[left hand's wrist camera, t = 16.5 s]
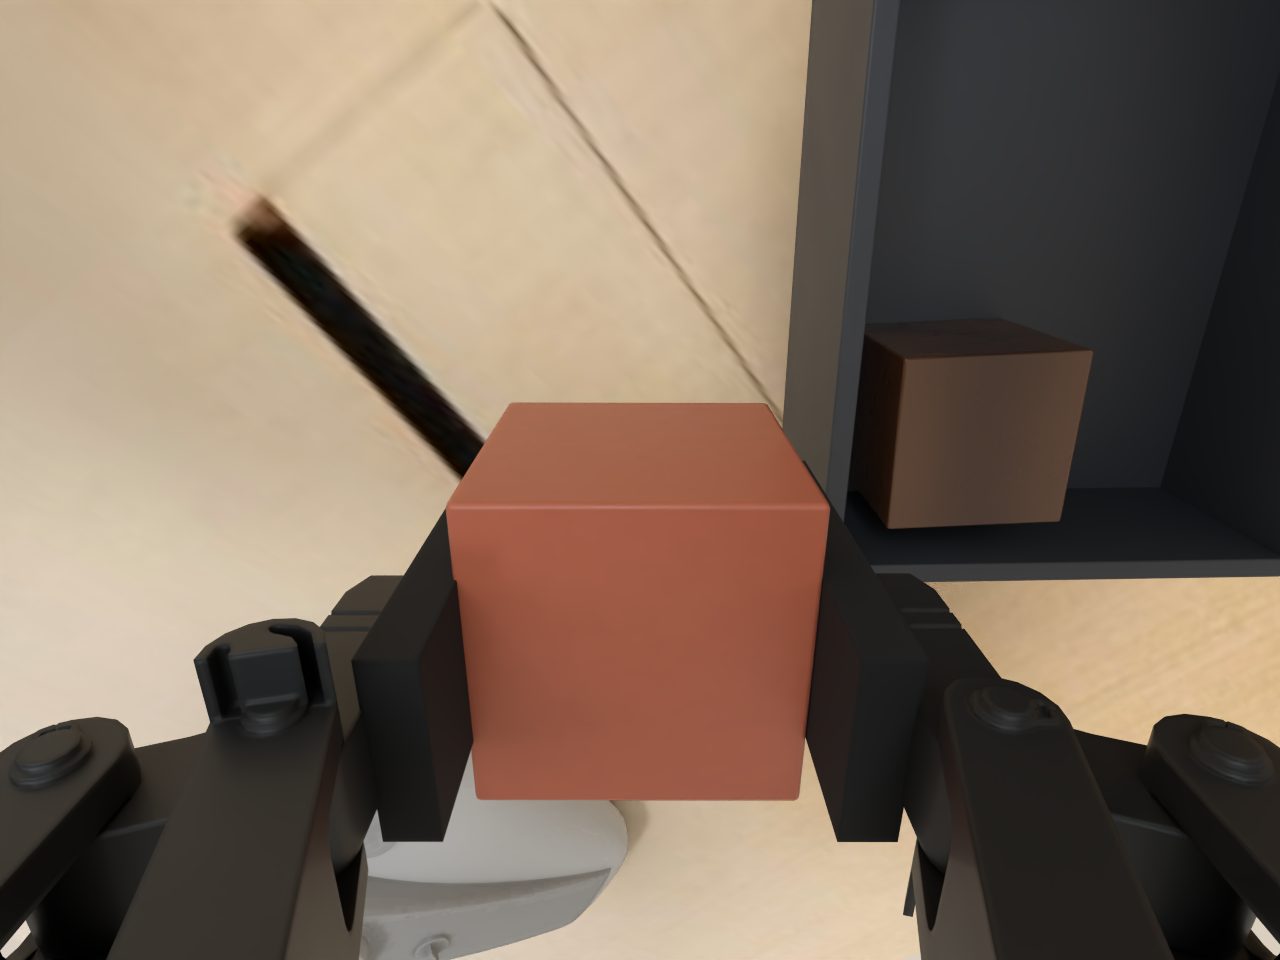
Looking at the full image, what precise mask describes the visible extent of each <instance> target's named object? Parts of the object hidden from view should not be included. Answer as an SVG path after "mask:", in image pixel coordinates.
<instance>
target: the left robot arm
mask: <svg viewBox="0 0 1280 960" xmlns="http://www.w3.org/2000/svg"><path fill="white" fill-rule="evenodd" d="M802 462H803V463H804V465H805V467H806V468H807V470H808V471H809V473H810V475H811V476H812V478H813V479H814V481H815V483H816V484H817V486H818V487H819V489H820V491H821V492H822V494H823V495H824V497H825V499H826V500H827V502H828V504H829V506H830V515H829V524H828V533H827V543H826V552H825V561H824V570H823V578H822V587H821V597H820V606H819V615H818V625H817V634H816V643H815V653H814V662H813V671H812V681H811V690H810V699H809V709H808V718H807V727H806V736H805V737H806V740H807V744H808V747H809V750H810V753H811V757H812V760H813V763H814V767H815V770H816V773H817V776H818V780H819V783H820V786H821V790H822V793H823V796H824V799H825V803H826V806H827V809H828V812H829V816H830V819H831V822H832V826H833V829H834V832H835V835H836V839H837V842H898V837H899V831H900V825H901V820H902V814H903V808H905V810H906V813H907V815H908V817H909V820H910V822H911V824H912V827H913V829H914V831H915V834H916V836H917V840H916V846H915V851H914V856H913V862H912V867H911V872H910V877H909V883H908V888H907V893H906V899H905V905H904V912H903V915H906V916H911V917H913V913H914V908H915V905H916V915H917V924H918V933H919V942H920V952H921V960H1280V954H1279V955H1278V956H1275V955H1274V954H1273V953H1272V952H1271V951H1269V950H1268V949H1267V948H1266V947H1265V946H1264V945H1263V944H1262V942H1261V941H1260V940H1259V939H1258V937H1257V936H1256V935H1255V934H1254V933H1253V931H1252V930H1251V928H1252V926H1253V923H1254V921H1255V919H1256V917H1257V918H1258V919H1259V920H1260V921H1261V922H1262V924H1263V925H1264V926H1265V927H1266V928H1267V930H1268V931H1269V932H1270V933H1271V934H1272V935H1273V937H1274V938H1275V939H1276V940H1277V941H1278V943H1279V944H1280V748H1279V747H1278V746H1276V745H1275V744H1274V743H1272V742H1271V741H1269V740H1268V739H1266V738H1263V737H1261V736H1259V735H1257V734H1255V733H1253V732H1251V731H1249V730H1247V729H1245V728H1244V727H1242V726H1239V725H1236V724H1234V723H1231V722H1228V721H1227V722H1225V721H1224V720H1221V719H1216V718H1212V717H1206V716H1198V715H1190V714H1180V715H1173V716H1166V717H1164V718H1163V719H1161V720H1160V721H1159V722H1157V723H1156V724H1155V725H1154V727H1153V730H1152V733H1151V736H1150V739H1149V742H1148V745H1142V744H1137V743H1133V742H1128V741H1123V740H1118V739H1113V738H1109V737H1104V736H1099V735H1094V734H1090V733H1086V732H1083V731H1079V730H1075V729H1073V727H1072V725H1071V723H1070V721H1069V720H1068V718H1067V717H1066V715H1065V714H1064V713H1063V711H1062V710H1061V709H1060V707H1059V706H1058V705H1056V704H1055V703H1054V702H1052V701H1051V700H1050V699H1048V698H1047V697H1046V696H1044V695H1043V694H1041V693H1040V692H1038V691H1036V690H1033V689H1031V688H1029V687H1027V686H1025V685H1022V684H1020V683H1018V682H1014V681H1010V680H1006V679H1002V678H1001V677H1000V676H999V674H998V673H997V672H996V670H995V669H994V668H993V666H992V665H991V664H990V662H989V661H988V660H987V658H986V657H985V656H984V654H983V653H982V652H981V650H980V649H979V648H978V646H977V645H976V644H975V642H974V641H973V640H972V638H971V637H970V636H969V634H968V633H967V632H966V630H965V629H962V628H961V624H960V622H959V621H958V620H957V618H956V617H955V616H954V614H953V613H950V611H949V608H948V606H947V605H946V604H945V602H944V601H943V600H942V598H941V597H940V596H939V594H938V593H937V592H936V590H935V589H933V588H932V587H930V586H929V585H927V584H925V583H924V582H922V581H921V580H919V579H918V578H916V577H915V576H913V575H912V574H910V573H875V572H874V571H873V569H872V567H871V566H870V564H869V562H868V561H867V559H866V558H865V556H864V554H863V553H862V551H861V550H860V548H859V546H858V545H857V543H856V542H855V540H854V538H853V537H852V535H851V534H850V532H849V530H848V529H847V527H846V526H845V524H844V522H843V521H842V519H841V518H840V516H839V514H838V513H837V511H836V509H835V508H834V506H833V505H832V503H831V501H830V500H829V498H828V497H827V495H826V493H825V492H824V490H823V489H822V487H821V485H820V484H819V482H818V481H817V479H816V477H815V476H814V474H813V473H812V471H811V469H810V468H809V466H808V465H807V463H806V461H802ZM194 664H195V668H196V671H197V675H198V679H199V682H200V686H201V690H202V694H203V697H204V701H205V705H206V708H207V712H208V716H209V719H210V724H209V726H208V729H207V731H206V733H202V734H198V735H195V736H191V737H187V738H182V739H177V740H172V741H168V742H163V743H158V744H153V745H149V746H144V747H139V748H134V746H133V743H132V740H131V737H130V734H129V730H128V728H127V727H125V726H124V725H123V724H122V723H120V722H119V721H118V720H115V719H108V718H101V717H93V718H85V719H77V720H70V721H66V722H62V723H58V724H57V725H55V724H54V725H52V726H49V727H46V728H43V729H41V730H38V731H37V732H35V733H33V734H31V735H29V736H27V737H25V738H23V739H21V740H19V741H17V742H15V743H13V744H12V745H10V746H9V747H7V748H6V749H5V750H3V751H2V752H0V950H1V949H2V948H3V946H4V945H5V944H6V943H7V942H8V941H9V939H10V938H11V937H12V936H13V935H14V933H15V932H16V931H17V930H18V929H19V927H20V926H21V925H22V924H23V923H24V921H25V920H26V922H27V924H28V926H29V928H30V931H31V933H30V934H29V935H28V936H27V938H26V939H25V940H24V941H23V942H22V944H21V945H20V946H19V947H18V948H17V949H16V950H15V951H14V952H13V953H12V954H10V955H9V956H8V957H7V958H6V959H5V958H4V957H3V956H2V954H1V952H0V960H359V954H360V944H361V935H362V926H363V916H364V907H365V898H366V889H367V879H368V863H367V857H366V851H365V846H364V839H365V836H366V834H367V832H368V829H369V827H370V825H371V822H372V820H373V818H374V815H375V813H376V811H378V817H379V822H380V828H381V834H382V840H383V842H443V840H444V837H445V834H446V831H447V827H448V824H449V821H450V817H451V814H452V811H453V808H454V804H455V801H456V798H457V794H458V791H459V788H460V785H461V781H462V778H463V775H464V771H465V768H466V765H467V762H468V758H469V755H470V752H471V748H472V745H473V742H474V740H473V731H472V721H471V712H470V702H469V693H468V683H467V674H466V664H465V655H464V645H463V636H462V626H461V617H460V607H459V598H458V588H457V580H454V579H453V572H452V563H451V553H450V544H449V534H448V524H447V515H446V509H445V510H444V512H443V513H442V515H441V517H440V518H439V520H438V522H437V523H436V525H435V526H434V528H433V530H432V531H431V533H430V534H429V536H428V538H427V539H426V541H425V542H424V544H423V546H422V547H421V549H420V550H419V552H418V554H417V555H416V557H415V558H414V560H413V562H412V563H411V565H410V567H409V568H408V570H407V571H406V573H405V575H404V576H370V577H368V578H367V579H365V580H364V581H362V582H360V583H359V584H357V585H356V586H354V587H353V588H351V589H350V590H348V591H347V592H346V593H345V594H344V595H343V597H342V598H341V599H340V601H339V602H338V603H337V605H336V606H335V607H334V609H333V610H332V614H331V615H328V617H327V618H326V619H325V621H324V622H323V623H322V625H321V626H320V627H319V626H317V625H316V624H315V623H314V622H310V621H305V620H301V619H296V618H291V619H271V620H267V621H262V622H257V623H252V624H248V625H246V626H243V627H241V628H238V629H236V630H233V631H231V632H228V633H225V634H224V635H222V636H221V637H219V638H218V639H216V640H214V641H213V642H211V643H210V644H208V645H207V646H205V647H204V648H203V650H202V651H201V652H200V653H199V654H198V655H197V657H196V658H195V659H194Z"/></svg>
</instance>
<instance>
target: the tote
mask: <svg viewBox="0 0 1280 960" xmlns="http://www.w3.org/2000/svg"><path fill="white" fill-rule="evenodd" d="M994 318H1003V319H1005V320H1008V321H1011V322H1014V323H1017V324H1020V325H1023V326H1025V327H1028V328H1031V329H1034V330H1037V331H1040V332H1043V333H1045V334H1048V335H1051V336H1054V337H1057V338H1060V339H1063V340H1066V341H1068V342H1071V343H1074V344H1077V345H1080V346H1083V347H1086V348H1088V349H1091V350H1093V352H1094V354H1093V359H1092V364H1091V369H1090V374H1089V379H1088V384H1087V389H1086V394H1085V399H1084V404H1083V409H1082V414H1081V419H1080V424H1079V429H1078V434H1077V439H1076V444H1075V449H1074V454H1073V459H1072V464H1071V469H1070V474H1069V479H1068V484H1067V489H1066V494H1065V499H1064V504H1063V509H1062V514H1061V519H1060V521H1058V522H1040V523H1017V524H995V525H972V526H949V527H926V528H904V529H888V528H887V527H886V526H885V525H884V523H883V522H882V521H881V519H880V518H879V517H878V515H877V514H876V513H875V511H874V510H873V509H872V507H871V506H870V505H869V504H868V502H867V501H866V500H865V498H864V497H863V496H862V494H861V493H860V492H859V490H858V489H857V488H856V487H855V485H854V484H853V483H852V481H851V480H850V479H849V470H850V461H851V451H852V442H853V433H854V424H855V415H856V406H857V396H858V387H859V378H860V369H861V360H862V351H863V341H864V332H865V324H880V323H903V322H926V321H948V320H971V319H994ZM782 430H783V431H784V433H785V434H786V436H787V438H788V439H789V441H790V442H791V444H792V446H793V447H794V449H795V450H796V452H797V454H798V455H799V457H800V458H801V460H802V461H806V463H807V465H808V466H809V468H810V469H811V471H812V473H813V474H814V476H815V477H816V479H817V481H818V482H819V484H820V485H821V487H822V489H823V490H824V492H825V493H826V495H827V497H828V498H829V500H830V501H831V503H832V505H833V506H834V508H835V509H836V511H837V513H838V514H839V516H840V518H841V519H842V521H843V522H844V524H845V526H846V527H847V529H848V530H849V532H850V534H851V535H852V537H853V538H854V540H855V542H856V543H857V545H858V546H859V548H860V550H861V551H862V553H863V554H864V556H865V558H866V559H867V561H868V562H869V564H870V566H871V567H872V569H873V571H874V572H875V573H910V574H912V575H913V576H915V577H916V578H918V579H919V580H921V581H922V582H956V581H1019V580H1082V579H1145V578H1208V577H1271V576H1280V0H812V13H811V28H810V42H809V56H808V71H807V85H806V99H805V113H804V128H803V142H802V156H801V171H800V185H799V199H798V214H797V228H796V242H795V257H794V271H793V285H792V300H791V314H790V328H789V342H788V357H787V371H786V385H785V400H784V414H783V428H782Z"/></svg>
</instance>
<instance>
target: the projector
mask: <svg viewBox="0 0 1280 960" xmlns="http://www.w3.org/2000/svg"><path fill="white" fill-rule="evenodd" d="M364 846H365V851H366V857H367V863H368V879H367V889H366V898H365V907H364V916H363V926H362V935H361V944H360V954H359V960H450V959H454V958H458V957H462V956H466V955H470V954H474V953H478V952H482V951H486V950H490V949H493V948H497V947H501V946H504V945H508V944H511V943H515V942H518V941H521V940H525V939H528V938H531V937H534V936H537V935H540V934H543V933H547V932H550V931H553V930H556V929H558V928H561V927H564V926H566V925H568V924H570V923H572V922H573V921H574V920H576V919H577V918H578V917H579V916H580V915H581V914H582V913H583V912H584V911H585V910H586V909H587V908H588V907H589V906H590V905H591V904H592V903H593V902H594V901H595V900H596V899H597V897H598V896H599V895H600V894H601V892H602V891H603V890H604V889H605V887H606V886H607V885H608V884H609V882H610V881H611V879H612V878H613V877H614V875H615V874H616V872H617V871H618V869H619V868H620V866H621V864H622V863H623V861H624V859H625V856H626V853H627V849H628V833H627V827H626V824H625V820H624V818H623V816H622V815H621V814H620V812H619V811H618V809H617V808H616V807H615V806H614V805H613V804H612V803H611V802H610V801H609V800H479V799H477V797H476V793H475V784H474V774H473V764H472V755H471V752H470V755H469V758H468V762H467V765H466V768H465V771H464V775H463V778H462V781H461V785H460V788H459V791H458V794H457V798H456V801H455V804H454V808H453V811H452V814H451V817H450V821H449V824H448V827H447V831H446V834H445V837H444V840H443V842H383V840H382V834H381V828H380V822H379V817H378V811H376V813H375V815H374V818H373V820H372V822H371V825H370V827H369V829H368V832H367V834H366V836H365V839H364Z"/></svg>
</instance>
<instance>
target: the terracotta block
mask: <svg viewBox="0 0 1280 960" xmlns="http://www.w3.org/2000/svg"><path fill="white" fill-rule="evenodd" d="M446 515H447V524H448V534H449V544H450V553H451V563H452V572H453V579H454V580H457V588H458V598H459V607H460V617H461V626H462V636H463V645H464V655H465V664H466V674H467V683H468V693H469V702H470V712H471V721H472V731H473V740H474V742H473V745H472V748H471V755H472V764H473V774H474V784H475V793H476V797H477V799H479V800H788V801H794V800H797V799H798V797H799V792H800V783H801V773H802V764H803V755H804V746H805V736H806V727H807V718H808V709H809V699H810V690H811V681H812V671H813V662H814V653H815V643H816V634H817V625H818V615H819V606H820V597H821V587H822V578H823V570H824V561H825V552H826V543H827V533H828V524H829V515H830V506H829V504H828V502H827V500H826V499H825V497H824V495H823V494H822V492H821V491H820V489H819V487H818V486H817V484H816V483H815V481H814V479H813V478H812V476H811V475H810V473H809V471H808V470H807V468H806V467H805V465H804V463H803V462H802V460H801V458H800V457H799V455H798V454H797V452H796V450H795V449H794V447H793V446H792V444H791V442H790V441H789V439H788V438H787V436H786V434H785V433H784V431H783V430H782V428H781V426H780V425H779V423H778V422H777V420H776V418H775V417H774V415H773V413H772V412H771V410H770V409H769V407H768V405H767V404H764V403H511V404H509V406H508V407H507V409H506V410H505V412H504V414H503V415H502V417H501V418H500V420H499V422H498V423H497V425H496V426H495V428H494V430H493V431H492V433H491V434H490V436H489V438H488V439H487V441H486V442H485V444H484V445H483V447H482V449H481V450H480V452H479V453H478V455H477V457H476V458H475V460H474V461H473V463H472V465H471V466H470V468H469V469H468V471H467V472H466V474H465V476H464V477H463V479H462V480H461V482H460V484H459V485H458V487H457V488H456V490H455V492H454V493H453V495H452V496H451V498H450V500H449V501H448V503H447V505H446Z"/></svg>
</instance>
